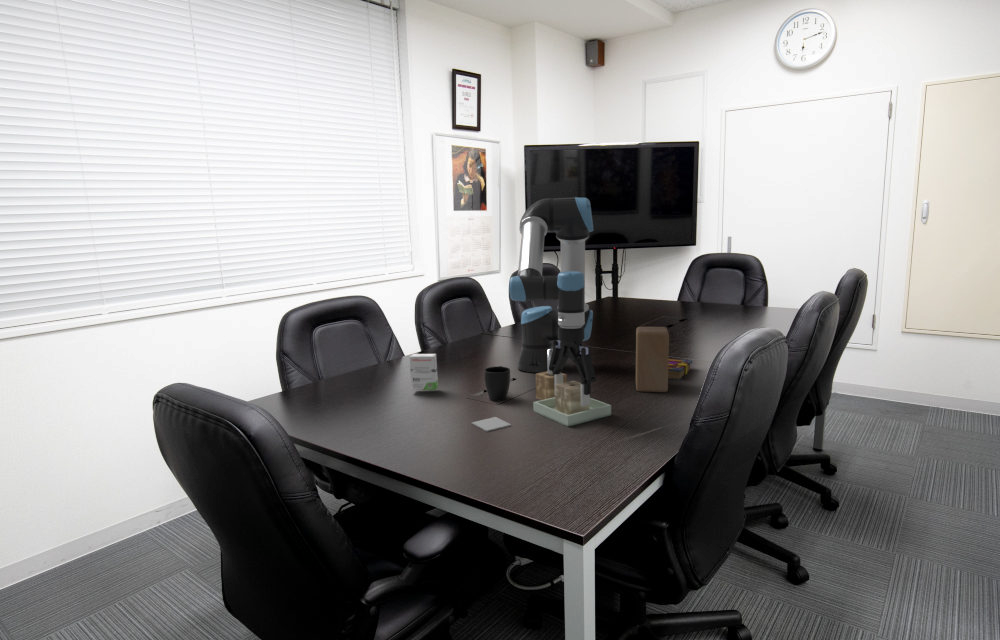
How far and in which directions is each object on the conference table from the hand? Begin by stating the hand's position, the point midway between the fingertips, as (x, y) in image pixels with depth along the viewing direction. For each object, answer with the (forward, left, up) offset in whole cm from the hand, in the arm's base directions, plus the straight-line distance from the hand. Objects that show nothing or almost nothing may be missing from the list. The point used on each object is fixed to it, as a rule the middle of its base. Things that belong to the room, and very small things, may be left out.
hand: (571, 400), depth 173 cm
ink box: (-51, -23, -4) cm, 56 cm away
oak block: (-15, +4, -4) cm, 16 cm away
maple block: (0, 0, -4) cm, 4 cm away
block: (-4, +37, -4) cm, 37 cm away
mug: (-27, -8, -4) cm, 29 cm away
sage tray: (0, 0, -4) cm, 4 cm away
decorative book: (-12, +55, -5) cm, 57 cm away
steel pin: (-15, +4, -4) cm, 16 cm away
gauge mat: (-6, -24, -4) cm, 25 cm away
